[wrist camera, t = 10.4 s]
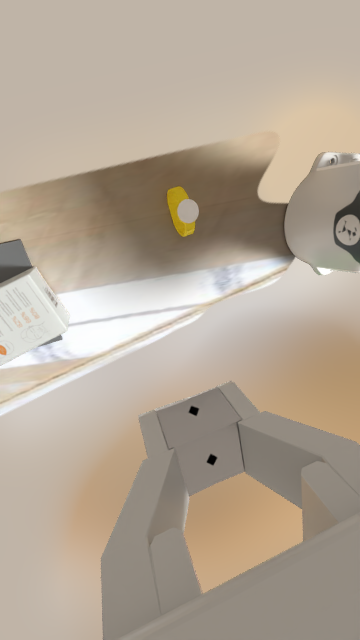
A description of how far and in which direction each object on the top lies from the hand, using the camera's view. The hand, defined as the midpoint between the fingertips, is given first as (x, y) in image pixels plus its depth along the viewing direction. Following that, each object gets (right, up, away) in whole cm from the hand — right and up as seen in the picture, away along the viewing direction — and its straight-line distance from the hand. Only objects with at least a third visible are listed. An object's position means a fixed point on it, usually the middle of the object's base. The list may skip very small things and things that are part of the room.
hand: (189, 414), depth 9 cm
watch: (-1, +18, +30) cm, 35 cm away
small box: (-16, +6, +26) cm, 31 cm away
